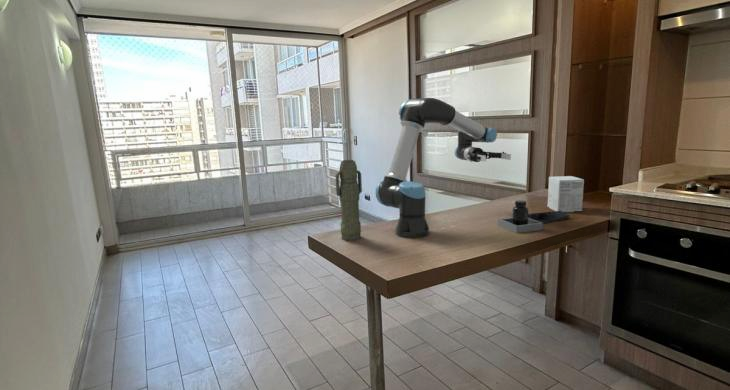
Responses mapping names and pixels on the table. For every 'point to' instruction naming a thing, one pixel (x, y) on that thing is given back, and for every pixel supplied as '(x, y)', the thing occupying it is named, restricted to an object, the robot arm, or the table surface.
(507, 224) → the tray
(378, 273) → the table surface
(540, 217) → the dark slate chunk
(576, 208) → the supplement box
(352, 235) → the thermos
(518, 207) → the supplement bottle
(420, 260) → the table surface
